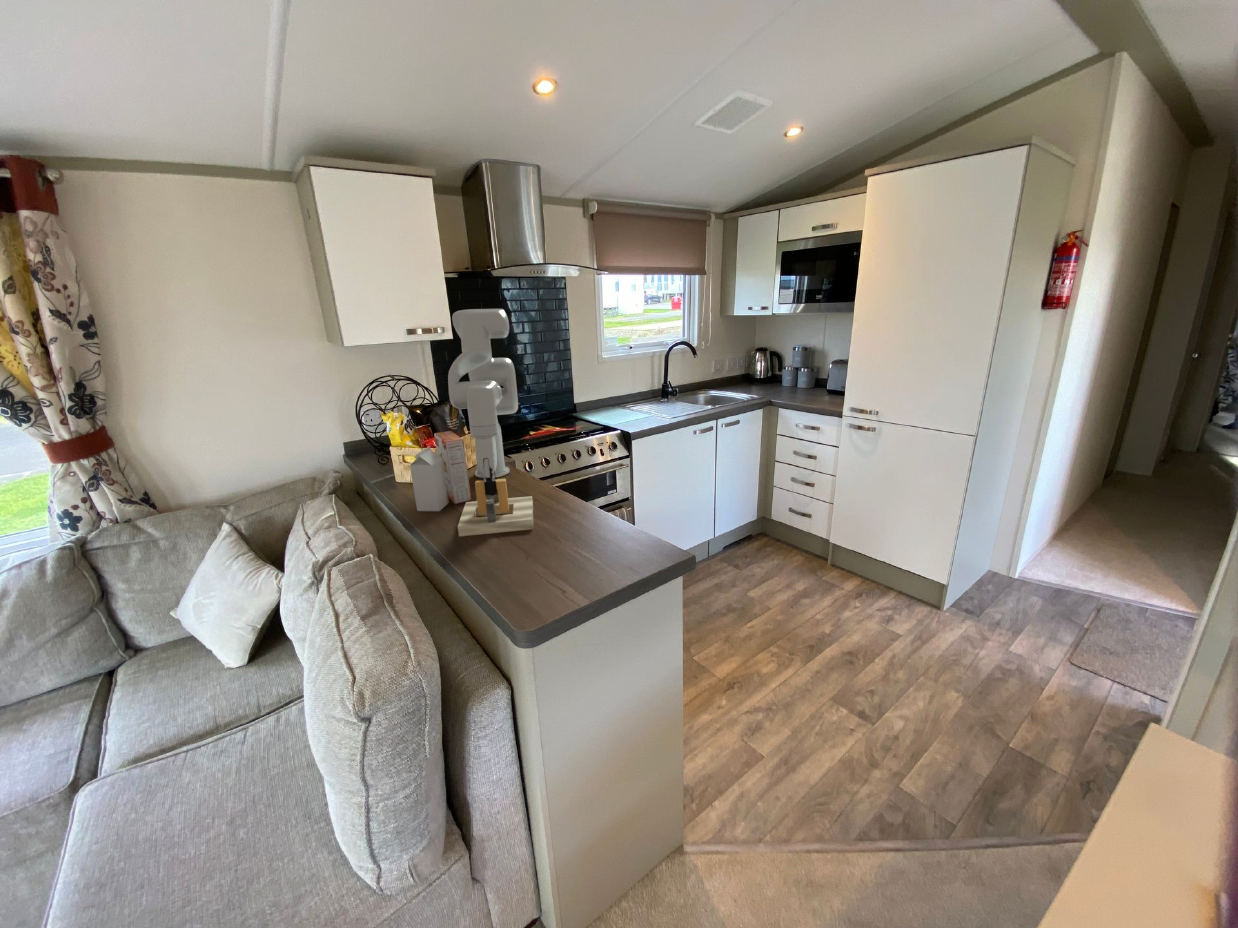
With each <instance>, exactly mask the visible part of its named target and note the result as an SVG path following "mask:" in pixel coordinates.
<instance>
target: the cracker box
mask: <svg viewBox="0 0 1238 928" xmlns="http://www.w3.org/2000/svg"><path fill="white" fill-rule="evenodd" d="M433 436H434V442H435V446H436V454H437V455H438V456H440V457H441V458H442V460H443V467H444V473H445V480H446V487H447V494H448V499H450V501H451V502H452V503H453V504H454V505H457V504H461V503H466V502H471V501H473V500H472V494H471V486H470V480H469V473H468V465H467V458H466V450H465V444H464V443H465V442H464V438H462V437H460V436H459V435H457V434H456V433H455V432H453V431H452V430H448V431H442V432H440V431H439V432H434V435H433Z"/></svg>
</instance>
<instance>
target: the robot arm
mask: <svg viewBox="0 0 1238 928" xmlns="http://www.w3.org/2000/svg"><path fill="white" fill-rule="evenodd" d="M451 320H452V325H453V327H454V329H455V332H456V334H457V335H458V336H459V338H460V340H461V341H460V344H461V352H462V353H460V354H459V355H458V356H457V357H456V358H455V359H454V361H453V362H452V364H451V366H450V368H449V370H448V375H447V377H448V378H447V380H448V381H447V383H448V396H449V401H450V405H452V406H453V408H455V409H459V410H463V409H464V410H465V409H467V415H468V422H469V431H470V438H471V439H474V449H475V450H474V451H475V459H476V470H475V471H474V474H475V477H477V478H479V479H483V480H484V486H485V494H486V496H490V495H496V494H497V487H496V481H495V479H498V478H501V477H504V476H507V474H509V473H510V468H509V467H508V466H506V464H505V457H504V446H503V436H502V429H501V425H500V423H499V421H498V416H501V415H512V414H515V413H517V411H518V410H519V397H518V388H517V379H516V377H517V376H516V370H515V369H516V368H515V365H514V363H513V361H512V359H510V358H508V357H493V354H492V353H493V352H492V345H491V343H492V342H491V339H505V338H507V337H508V336H509V333H510V322H509V318H508V315H507V313H506V311H505V309H503V308H474V309H473V308H471V309H469V308H468V309H462V310H457V311H455V312H453V314H452V317H451ZM466 374H468V378H469V381H460V379H461V378H462V377H464V376H465V375H466ZM501 386H502V387H501Z"/></svg>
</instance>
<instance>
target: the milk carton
mask: <svg viewBox="0 0 1238 928" xmlns="http://www.w3.org/2000/svg"><path fill="white" fill-rule="evenodd" d="M414 458H415V459H414V460H413V461H412V462H411V463H410V465H409V469H410V475H411V481H412V486H413V487H412V488H413V492H414V493H413V494H414V500H415V504H416V510H417V512H440V511H442V510H443V509H444V507H446V506H447V505H448V504H449V502H450V501H449V497H448V494H447V487H446V480H445V473H444V467H443V460H442V458H441V457H440V456H438V454H437V452H435V451H433V450H432V449H431V446H430V445H429V446H428V447H425V448H424V449H422V450H420V451H419V452H418V453H417V454H415V455H414Z"/></svg>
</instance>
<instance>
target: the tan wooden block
mask: <svg viewBox="0 0 1238 928" xmlns="http://www.w3.org/2000/svg"><path fill="white" fill-rule="evenodd" d="M495 481H496V487H497V490H498V497H499V506H500V513H501V512H509V504H508V498H509V497H508V496H509V495H508V486H507V479H506V478H497V479H495ZM474 488H475V497H476V501H477V504H478V512H479V515H480V514H487V510H486V501H487V500H488V499H487V498H488V497H487V495H486V494H485V486H484V479H482V480H475V482H474Z"/></svg>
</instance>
